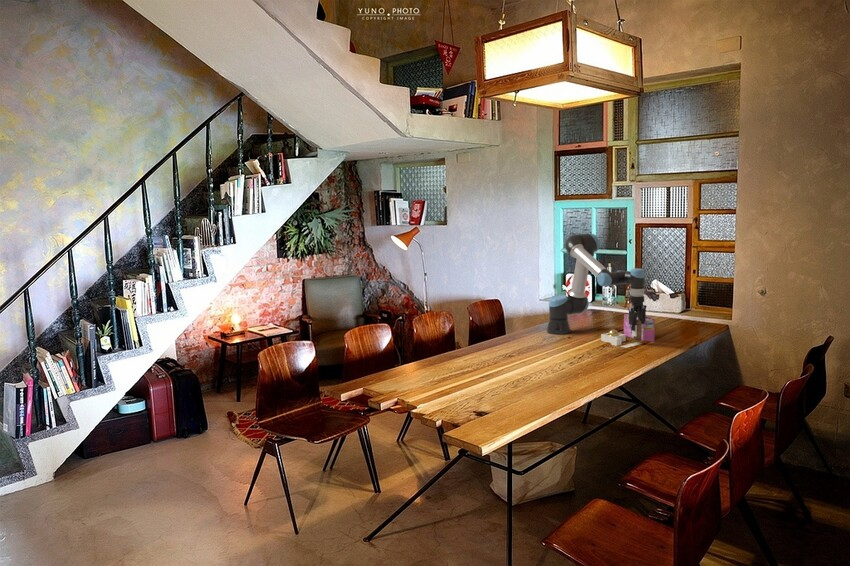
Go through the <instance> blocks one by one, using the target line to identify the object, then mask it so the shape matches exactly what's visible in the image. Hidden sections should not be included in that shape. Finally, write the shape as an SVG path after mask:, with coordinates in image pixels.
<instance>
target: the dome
mask: <svg viewBox="0 0 850 566" xmlns="http://www.w3.org/2000/svg"><path fill="white" fill-rule="evenodd" d="M607 333H608V334H607V335H608V336H613V337H615V336H620V335H619V331H617V330H616V329H610V330H609V331H608V332H607Z"/></svg>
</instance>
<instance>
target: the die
mask: <svg viewBox="0 0 850 566" xmlns="http://www.w3.org/2000/svg"><path fill="white" fill-rule="evenodd" d="M610 344H611V345H612V346H615V347H618V346H619V347H620V346H622V342H621V338H617V337H615V338H611V343H610Z"/></svg>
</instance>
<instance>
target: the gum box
mask: <svg viewBox="0 0 850 566" xmlns="http://www.w3.org/2000/svg"><path fill="white" fill-rule="evenodd" d="M637 319H638V314H637ZM655 323H656V321H655V318H652V317H648V316H646V322H644V324H643V329H642V335H641V341H647V342H655V331H656V330H655V325H656V324H655ZM623 334H625V335H626V337H628V338H632V339H633V336H632V325H630V324H629V313H627V314H626V313H623Z"/></svg>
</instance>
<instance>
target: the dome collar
mask: <svg viewBox="0 0 850 566" xmlns="http://www.w3.org/2000/svg"><path fill="white" fill-rule="evenodd" d="M608 333H609V332H607V333H602V334H600V341H601V342H604V343H605V342H606V343H610V344H611V338H615V337H617V338H621V343H623V342H626V340H627V336H626V335H625V334H624V333H619V332H618V333H619V335H620V336H615V337H613V336H608V335H607V334H608Z"/></svg>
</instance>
